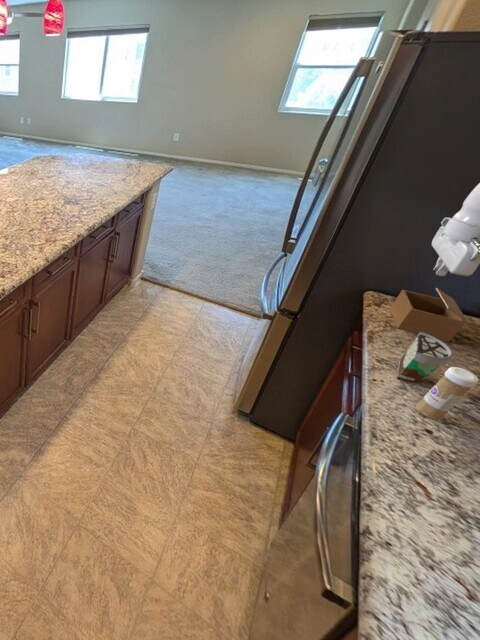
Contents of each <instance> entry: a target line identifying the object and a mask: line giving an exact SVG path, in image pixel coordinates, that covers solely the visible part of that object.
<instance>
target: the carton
mask: <svg viewBox="0 0 480 640" xmlns="http://www.w3.org/2000/svg"><path fill="white" fill-rule="evenodd" d="M389 310H390V312H391V315H392V317H393V319H394V323H395V325H396V328H397V329H399V330H404V331H407V332H410V333H415V334H417V335H418V334H419V333H420V332H423V333H426V334H428V335H430V336H432V337H434V338H436V339H438V340H440V341H444V342H448V343H449V342H450V341H451V340H452V339H453V338H454V337H455V335H456V334H457V333H458V332H459V331H460V330H461V328H462V327H463V326H464V325H465V324H466V321H465V320H464V319H462V318H461V317H459V316H458V315H457V314H455V313H454V312H452V311H451V310H449V309H448V308H447V307H446V305H445V303H444V302H443V300H442V298H441V297H436V296H431V295H427V294H423V293H419V292H415V291H410V290H406V289H402V290H401V291H400V292H399V294H398V295H397V297H396V298H395V299H394V301H393V302H392V303H391V306H389Z"/></svg>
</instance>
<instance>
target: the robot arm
mask: <svg viewBox="0 0 480 640" xmlns="http://www.w3.org/2000/svg"><path fill="white" fill-rule="evenodd" d="M461 206H462V207H461V208H460V210H459V211H457V212H455V214H454V215H453V216H452V217H444V218H443V219H442V221H441V222H440V224H441V226H440V227H439V228H438V229H437V232H436V233H435V234H434V236H433V238H432V240H431V247H432V248H433V249H434V251H435V252H436V254H437V255H438V258H437V260H436V263H435V266H434V268H433V272H434V273H435V275H436V276H439V277H445V276H446V275H447V273H449V272H450V274H454V275H458V276H462V277H469V276H472V275H473V274H474V272H475V271H476V270H477V268H478V267H479V265H480V182H479V183H478V184H476V186H475V187H474V188H473V189H472V190H471V192H470V193H469V194H467V197H466V198H465V199H464V201H463V203H462V205H461Z"/></svg>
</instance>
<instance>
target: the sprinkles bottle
mask: <svg viewBox="0 0 480 640" xmlns="http://www.w3.org/2000/svg"><path fill="white" fill-rule="evenodd" d="M479 382H480V379H479V377H478V376H477V375H476V374H474V373H472V372H471V371H469V370H467V369H465V368H462V367H457V366H450V367H449V368H448V369H447V370H446V371H445V372H444V374H443V376H442V377H441V378H440V379H439V380H438V381H437V382H436V384H434V386H433V387H432V388H430V389H429V391H427V393H426V394H425V395H424V397H423V398H422V399H421V400H420V401H419V402H418V403H416V404H415V408H416V410H417V412H419V413H420V414H421V415H422V416H425V417H427V418H428V419H431V420H432V419H433V420H437V421H440V420H443V418H444V416H445V415H446V414H447V413H448V412H450V411H451V410H452V409H453V408H454V407H455V406H456V405H457V404H458V403H459V402H460V401H461V399H463V398H464V396H465V395H466V394H467V393H468V392H469V391H470V390H471V389H472V388H474V387H476V385H477V384H478V383H479Z"/></svg>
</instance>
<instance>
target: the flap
mask: <svg viewBox="0 0 480 640" xmlns="http://www.w3.org/2000/svg"><path fill="white" fill-rule="evenodd" d="M435 290H436V292H437V293H438V295H439V298H441V299H442V300H443V302H444V303H445V305H446V307H447V308H448V309H449V310H451V311H452V312H454V313H455V314H457V315H458V316H459V317H461V318H462V319H464V321H465V322H466V321H468V319H467V318H466V316H465V314H464V313H463V312H462V310H461V308H460V306H459V305H458V304H457V302H456V301H455V299H454V298H453V297H451V296H450V295H448V294H447V293H445V292H443V291H442V290H440V289H439V288H438V287H435Z"/></svg>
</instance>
